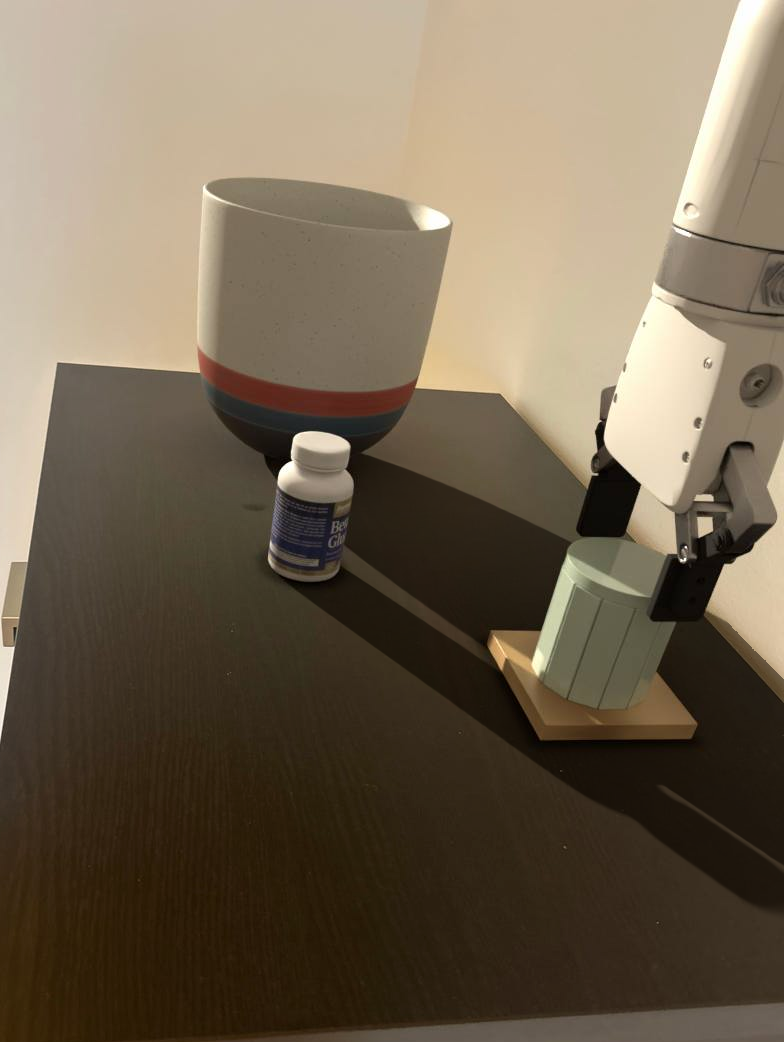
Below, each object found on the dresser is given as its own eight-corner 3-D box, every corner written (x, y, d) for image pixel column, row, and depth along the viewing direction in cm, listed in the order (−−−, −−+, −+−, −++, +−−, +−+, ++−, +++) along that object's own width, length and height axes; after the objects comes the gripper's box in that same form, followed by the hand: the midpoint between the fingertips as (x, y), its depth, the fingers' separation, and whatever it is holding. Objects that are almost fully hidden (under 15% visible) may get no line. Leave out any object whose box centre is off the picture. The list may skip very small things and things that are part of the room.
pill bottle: (334, 590, 67) (356, 463, 61) (261, 576, 67) (276, 448, 62) (343, 556, 71) (364, 435, 66) (274, 543, 72) (290, 421, 66)
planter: (376, 415, 98) (415, 193, 86) (430, 502, 82) (487, 242, 70) (181, 403, 94) (194, 167, 82) (196, 492, 77) (215, 213, 66)
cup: (615, 643, 63) (654, 538, 59) (665, 709, 58) (713, 599, 53) (516, 642, 62) (549, 534, 57) (557, 710, 56) (597, 596, 52)
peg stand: (620, 646, 65) (653, 559, 62) (691, 739, 57) (734, 645, 54) (486, 644, 63) (511, 554, 60) (540, 740, 55) (574, 643, 51)
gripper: (923, 333, 40) (770, 658, 50) (715, 242, 54) (627, 509, 64) (768, 322, 39) (641, 659, 48) (595, 232, 53) (523, 507, 62)
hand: (633, 574), depth 56 cm, fingers open, 9 cm apart
